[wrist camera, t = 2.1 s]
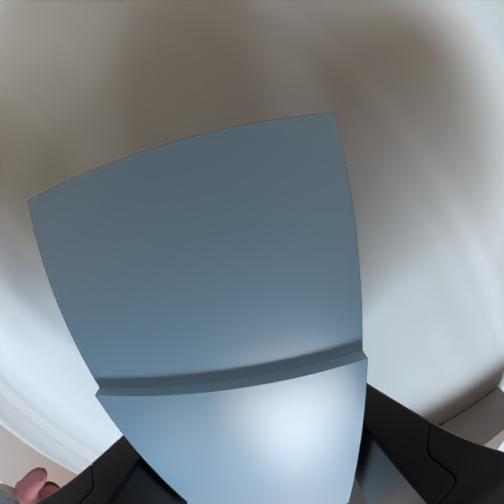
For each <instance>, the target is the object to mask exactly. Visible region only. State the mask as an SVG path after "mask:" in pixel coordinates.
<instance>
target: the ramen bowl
mask: <svg viewBox="0 0 504 504" xmlns="http://www.w3.org/2000/svg"><path fill="white" fill-rule="evenodd" d="M0 504H21V503H20V501H19V500H18V497H17V495H16V491H15V488H13V487H10V486H7V485H5V484H1V483H0Z"/></svg>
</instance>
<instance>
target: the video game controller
mask: <svg viewBox="0 0 504 504" xmlns="http://www.w3.org/2000/svg"><path fill="white" fill-rule="evenodd" d="M46 479H47V471H46V470H45V469H44V468H35V469H33V470H31V471H30V472H29V473H28V474H27V475H26V476H25V477H24V478H23V479H22V480H21V481H19V482H18V483H17V484H16V486H15V491H16V495H17V497H18V500H19V501H20V503H21V504H36V503H38V502H40V501H41V500H43V499H44V498H46V497H48V496H49V495H51V494H52V493H54V492H56V491H57V490H59V489H60V487H59V486H58V485H57V484H55V483H53V482H49V481H48V482H46Z"/></svg>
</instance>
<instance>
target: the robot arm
mask: <svg viewBox="0 0 504 504" xmlns="http://www.w3.org/2000/svg"><path fill="white" fill-rule="evenodd" d="M355 478H356V480H357V482H358V484H359V487H360V489H361V491H362V494H363V496H364V498H365V501H366V503H367V504H504V452H502V451H499V450H496V449H493V448H490V447H487V446H484V445H481V444H478V443H475V442H472V441H470V440H467V439H465V438H462V437H460V436H457V435H455V434H453V433H451V432H449V431H448V430H446V429H444V428H442V427H440V426H438V425H436V424H435V423H433V422H430V423H429V420H427V419H426V418H424V417H422V416H420V415H419V414H417V413H415V412H413V411H412V410H410V409H408V408H407V407H405V406H403V405H402V404H400V403H398V402H397V401H395V400H393V399H392V398H390V397H388V396H387V395H385V394H384V393H382V392H380V391H379V390H377V389H376V388H374V387H372V386H371V385H369V384H368V383H366V397H365V408H364V417H363V426H362V434H361V441H360V448H359V454H358V460H357V466H356V471H355ZM36 504H187V501H186V500H185V499H183V498H182V497H181V496H180V495H179V494H178V493H177V492H176V491H175V490H174V489H173V488H171V487H170V486H169V485H168V484H167V483H166V482H165V481H164V480H163V479H162V478H161V477H160V476H159V475H158V474H157V473H156V472H155V471H154V470H153V468H152V467H151V466H150V465H149V464H148V463H147V462H146V461H145V460H144V459H143V458H142V456H141V455H140V454H139V453H138V452H137V451H136V450H135V448H134V447H133V446H132V445H131V444H130V442H129V441H128V440H127V439H126V437H125V436H124V435H123V436H122V437H121V438H120V439H119V440H117V441H116V442H115V443H114V444H113V445H112V446H111V447H110V448H109V449H108V450H106V451H105V452H104V453H103V454H102V455H101V456H100V457H99V458H98V459H96V460H95V461H94V462H93V463H92V465H89V466H88V467H87V468H86V469H85V470H84V471H83V472H81V473H80V474H79V475H78V476H76V477H75V478H74V479H73V480H72V481H70V482H69V483H67V484H66V485H64V486H63V487H62V488H60V489H59V490H57V491H56V492H54V493H52V494H51V495H49V496H48V497H46V498H44V499H43V500H41V501H40V502H38V503H36Z"/></svg>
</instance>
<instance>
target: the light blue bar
mask: <svg viewBox="0 0 504 504" xmlns="http://www.w3.org/2000/svg"><path fill="white" fill-rule="evenodd" d="M28 203H29V209H30V213H31V218H32V223H33V227H34V231H35V235H36V239H37V243H38V247H39V250H40V254H41V257H42V260H43V264H44V267H45V270H46V273H47V276H48V279H49V282H50V285H51V287H52V290H53V293H54V296H55V298H56V301H57V303H58V306H59V308H60V311H61V313H62V315H63V318H64V320H65V322H66V325H67V327H68V329H69V331H70V333H71V335H72V337H73V340H74V342H75V344H76V346H77V348H78V350H79V352H80V353H81V355H82V357H83V359H84V361H85V363H86V365H87V367H88V368H89V370H90V372H91V374H92V375H93V377H94V379H95V380H96V382H97V384H98V385H99V387H100V388H99V390H98V391H97V393H96V395H95V396H96V397H97V399H98V400H99V402H100V403H101V405H102V406H103V408H104V409H105V411H106V412H107V413H108V415H109V416H110V418H111V419H112V420H113V422H114V423H115V424H116V426H117V427H118V428H119V430H120V431H121V432H122V434H123V435H124V436H125V437H126V439H127V440H128V441H129V442H130V444H131V445H132V446H133V447H134V448H135V450H136V451H137V452H138V453H139V454H140V455H141V456H142V458H143V459H144V460H145V461H146V462H147V463H148V464H149V465H150V466H151V467H152V468H153V470H154V471H155V472H156V473H157V474H158V475H159V476H160V477H161V478H162V479H163V480H164V481H165V482H166V483H167V484H168V485H169V486H170V487H171V488H173V489H174V490H175V491H176V492H177V493H178V494H179V495H180V496H181V497H182V498H183V499H185V500H186V501H187V502H188V503H189V504H346V503H349V499H350V495H351V490H352V486H353V481H354V476H355V471H356V466H357V460H358V454H359V448H360V441H361V434H362V426H363V417H364V408H365V397H366V383H367V364H368V358H367V357H366V355H365V354H364V352H363V350H362V299H361V281H360V267H359V255H358V245H357V235H356V227H355V219H354V211H353V204H352V198H351V191H350V185H349V179H348V173H347V168H346V162H345V157H344V152H343V147H342V143H341V138H340V134H339V129H338V125H337V121H336V116H335V113H324V114H314V115H305V116H297V117H289V118H282V119H275V120H269V121H263V122H257V123H252V124H247V125H241V126H236V127H232V128H227V129H222V130H218V131H214V132H209V133H205V134H201V135H197V136H193V137H190V138H186V139H182V140H179V141H175V142H172V143H168V144H165V145H162V146H158V147H155V148H152V149H149V150H146V151H143V152H140V153H137V154H134V155H131V156H128V157H125V158H123V159H120V160H117V161H115V162H112V163H109V164H107V165H104V166H102V167H99V168H97V169H94V170H92V171H89V172H87V173H85V174H82V175H80V176H78V177H75V178H73V179H71V180H69V181H67V182H64V183H62V184H60V185H58V186H56V187H54V188H52V189H50V190H48V191H46V192H44V193H42V194H40V195H38V196H36V197H34V198H32V199H30V200H29V201H28Z"/></svg>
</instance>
